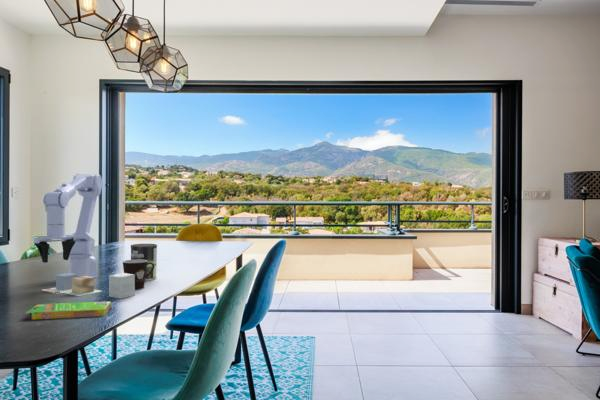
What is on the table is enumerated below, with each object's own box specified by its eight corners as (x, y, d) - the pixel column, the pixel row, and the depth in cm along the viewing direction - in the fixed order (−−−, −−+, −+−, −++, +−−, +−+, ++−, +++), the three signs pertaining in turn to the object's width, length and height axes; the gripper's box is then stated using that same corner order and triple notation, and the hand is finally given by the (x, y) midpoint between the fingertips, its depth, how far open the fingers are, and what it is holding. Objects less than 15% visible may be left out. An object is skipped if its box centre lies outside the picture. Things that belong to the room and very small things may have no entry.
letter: (76, 284, 162) (76, 283, 162) (92, 287, 157) (92, 286, 157) (41, 290, 151) (41, 289, 151) (57, 293, 146) (57, 293, 146)
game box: (103, 319, 120) (23, 320, 116) (110, 311, 130) (36, 311, 125) (104, 309, 120) (24, 309, 116) (111, 301, 130) (37, 300, 125)
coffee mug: (123, 291, 151) (123, 263, 151) (121, 286, 159) (121, 260, 159) (157, 288, 156) (157, 261, 156) (153, 284, 164) (153, 258, 164)
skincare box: (135, 295, 145) (135, 274, 145) (119, 299, 140) (119, 277, 140) (123, 293, 148) (123, 272, 148) (108, 296, 143) (108, 275, 143)
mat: (87, 288, 155) (87, 288, 155) (102, 291, 150) (102, 291, 150) (63, 293, 147) (63, 292, 147) (78, 296, 142) (78, 296, 142)
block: (85, 289, 152) (85, 275, 152) (93, 291, 150) (94, 277, 150) (71, 292, 148) (72, 278, 148) (80, 294, 145) (80, 279, 145)
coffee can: (144, 282, 167) (144, 246, 167) (124, 280, 171) (125, 245, 171) (162, 277, 177) (162, 244, 177) (143, 275, 181) (143, 243, 181)
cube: (69, 286, 158) (69, 272, 158) (77, 287, 155) (77, 274, 155) (55, 288, 154) (55, 274, 153) (63, 290, 151) (63, 276, 151)
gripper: (41, 225, 147) (41, 264, 147) (81, 223, 159) (80, 259, 160) (30, 224, 150) (30, 262, 151) (70, 223, 163) (69, 257, 163)
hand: (55, 261), depth 155 cm, fingers open, 7 cm apart
